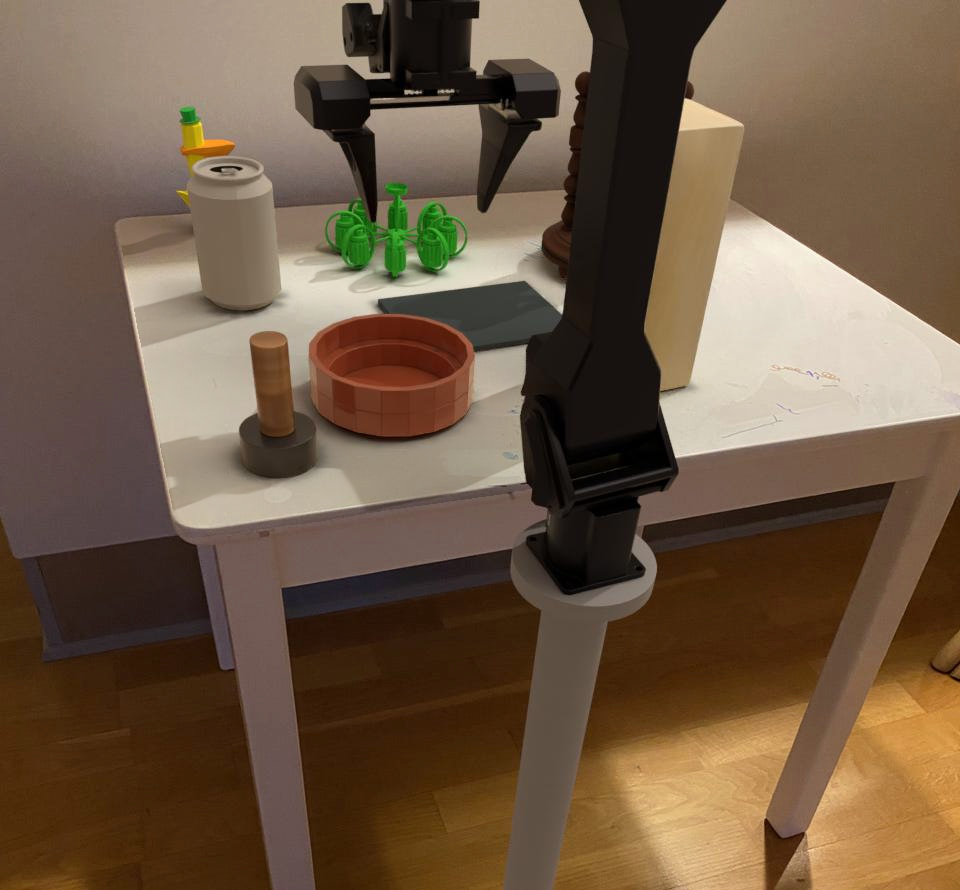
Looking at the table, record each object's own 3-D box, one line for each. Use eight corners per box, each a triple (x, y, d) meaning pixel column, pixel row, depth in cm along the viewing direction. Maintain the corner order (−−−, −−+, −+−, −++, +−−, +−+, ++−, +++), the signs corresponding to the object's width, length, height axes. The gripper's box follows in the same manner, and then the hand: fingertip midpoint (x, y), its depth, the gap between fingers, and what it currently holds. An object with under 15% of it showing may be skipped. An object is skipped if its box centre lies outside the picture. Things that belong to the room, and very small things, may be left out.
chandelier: (331, 226, 105) (328, 159, 101) (464, 231, 106) (467, 166, 102) (320, 280, 95) (316, 209, 90) (468, 286, 96) (471, 216, 91)
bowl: (496, 426, 76) (501, 375, 73) (340, 454, 72) (337, 401, 69) (436, 353, 85) (437, 305, 82) (293, 375, 80) (289, 324, 77)
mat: (579, 335, 89) (580, 330, 89) (422, 359, 84) (422, 354, 83) (524, 285, 97) (525, 280, 96) (377, 303, 91) (377, 298, 91)
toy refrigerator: (573, 359, 85) (608, 101, 71) (641, 347, 88) (688, 96, 74) (619, 400, 80) (666, 131, 66) (689, 386, 83) (750, 125, 68)
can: (273, 278, 94) (261, 149, 86) (290, 309, 89) (279, 175, 81) (197, 285, 92) (177, 153, 84) (210, 318, 87) (190, 181, 79)
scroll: (671, 247, 107) (711, 43, 93) (679, 301, 96) (725, 80, 82) (543, 234, 107) (563, 30, 94) (536, 287, 97) (558, 64, 83)
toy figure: (239, 220, 105) (225, 100, 97) (247, 232, 103) (234, 110, 95) (178, 226, 103) (158, 104, 94) (185, 238, 100) (166, 114, 92)
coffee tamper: (327, 470, 70) (319, 351, 64) (252, 483, 68) (237, 363, 62) (306, 432, 74) (296, 316, 67) (235, 444, 72) (218, 326, 65)
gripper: (509, -44, 71) (496, 175, 82) (265, -45, 65) (285, 191, 76) (575, -18, 64) (551, 220, 74) (307, -16, 58) (322, 241, 69)
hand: (427, 216), depth 74 cm, fingers open, 9 cm apart
